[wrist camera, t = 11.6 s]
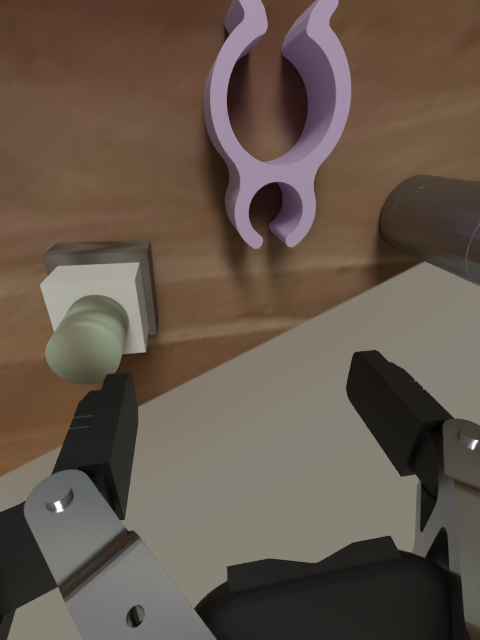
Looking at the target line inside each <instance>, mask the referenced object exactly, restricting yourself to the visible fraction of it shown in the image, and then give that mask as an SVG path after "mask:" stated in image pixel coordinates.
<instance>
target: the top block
mask: <svg viewBox="0 0 480 640" xmlns="http://www.w3.org/2000/svg"><path fill="white" fill-rule="evenodd" d="M40 286H41V290H42V293H43V296H44V300H45V303H46V306H47V309H48V313H49V316H50V319H51V323H52V326H53V329H54V332H55V331H56V329H57V327H58V326H59V324H60V323H61V321H62V319H63V318H64V316H65V315H66V313H67V312H68V310H69V308H70V307H71V305H72V304H73V303H74V302H75V301H76V300H78V299H80V298H82V297H84V296H88V295H103V296H107V297H109V298H112V299H114V300H115V301H117V302H118V303H119V304H121V305H122V306H123V308H124V309H125V310H126V312H127V314H128V318H129V328H128V332H127V336H126V340H125V344H124V348H123V352H122V354H132V353H143V352H146V347H147V339H148V331H149V326H148V319H147V312H146V305H145V298H144V290H143V283H142V276H141V269H140V262H139V263H117V264H95V265H73V266H57V267H56V268H55V269H54V270H53V272H52V273H51V274H50V275H49V276H48V277H47V278H46V279H45V280H44V281H43V282H42V283H41V284H40Z"/></svg>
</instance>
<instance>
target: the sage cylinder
mask: <svg viewBox="0 0 480 640" xmlns="http://www.w3.org/2000/svg"><path fill="white" fill-rule="evenodd" d="M128 328H129V318H128V314H127V312H126V310H125V309H124V308H123V306H122V305H121V304H119V303H118V302H117V301H115V300H114V299H112V298H109V297H107V296H103V295H88V296H84V297H82V298H80V299H78V300H76V301H75V302H74V303H73V304H72V305H71V307H70V308H69V310H68V312H67V313H66V315H65V316H64V318H63V319H62V321H61V323H60V324H59V326H58V327H57V329H56V331H55V332H54V334H53V335H52V337H51V338H50V340H49V342H48V344H47V346H46V351H45V356H46V360H47V363H48V364H49V366H50V368H51V369H52V370H53V371H54V372H55V373H56V374H57V375H58V376H60V377H62V378H63V379H65V380H67V381H70V382H73V383H78V384H95V383H99V382H102V381H104V379H105V376H106V375H107V374H112V373H115V372H116V371H117V369H118V367H119V364H120V361H121V357H122V352H123V348H124V344H125V340H126V336H127V332H128Z"/></svg>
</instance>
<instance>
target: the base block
mask: <svg viewBox="0 0 480 640" xmlns="http://www.w3.org/2000/svg"><path fill="white" fill-rule="evenodd" d="M43 259H44V262H45V266H46V269H47V273H48V276H49V275H50V274H51V273H52V272H53V270H54V269H55V268H56V267H57V266H73V265H95V264H117V263H139V262H140V269H141V276H142V283H143V290H144V298H145V305H146V312H147V319H148V326H149V331H148V335H157V327H158V309H157V300H156V291H155V282H154V273H153V264H152V255H151V246H150V241H112V242H72V243H57V244H55V245H54V246H53V247H52V248H51V249H50V250H48V251H47V252H46V253H45V254H44V255H43Z"/></svg>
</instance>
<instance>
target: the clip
mask: <svg viewBox="0 0 480 640" xmlns="http://www.w3.org/2000/svg"><path fill="white" fill-rule="evenodd" d="M337 6H338V0H316V1H315V2H314V3H313V4H312V5H311V6H310V7H309V8H308V9H307V10H306V11H305V12H304V13H303V14H302V15H301V16H300V17H299V18H298V19H297V20H296V21H295V23H294V24H293V26H292V27H291V29H290V31H289V32H288V34H287V35H286V37H285V39H284V43H283V46H282V55H283V56H284V57H285V58H286V59H288V60H289V61H290V62H291V63H292V64H293V65H294V66H295V67H296V69H297V70H298V72H299V73H300V75H301V77H302V79H303V82H304V84H305V88H306V92H307V98H308V112H307V119H306V123H305V126H304V129H303V132H302V134H301V136H300V138H299V139H298V141H297V142H296V144H295V145H294V146H293V147H292V149H291V150H289V151H288V152H287V153H286V154H285V155H283V156H282V157H280V158H278V159H275V160H272V161H268V162H261V161H259V160H257V159H255V158H254V157H252V156H251V155H250V154H248V153H247V152H246V151H245V150H244V149H243V147H242V146H241V145H240V143H239V142H238V140H237V139H236V137H235V135H234V133H233V130H232V128H231V125H230V122H229V117H228V112H227V89H228V83H229V79H230V75H231V72H232V69H233V67H234V65H235V63H236V61H237V60H239V59H240V58H241V57H243V56H245V55H246V54H248V53H249V51H250V50H251V49H252V48H253V46H254V45H255V44H256V43H257V42H258V40H259V39H260V38H261V37H262V36H263V34H264V33H265V32H266V30H267V27H268V23H267V18H266V13H265V8H264V6H263V4H262V2H261V0H233V1H232V4H231V6H230V9H229V11H228V13H227V16H226V18H225V21H224V25H225V28H226V30H227V31H228V33H229V37H228V38H227V40H226V41H225V43H224V45H223V47H222V49H221V51H220V52H219V54H218V56H217V58H216V60H215V62H214V64H213V66H212V68H211V70H210V73H209V75H208V78H207V82H206V86H205V91H204V99H203V111H204V120H205V125H206V129H207V132H208V135H209V137H210V140H211V142H212V144H213V146H214V147H215V149H216V150H217V152H218V153H219V154H220V156H221V157H222V158H223V159H224V161H225V163H226V164H227V167H228V170H229V184H228V187H227V190H226V195H225V209H226V213H227V216H228V218H229V220H230V222H231V223H232V225H233V226H234V227H235V229H236V230H237V231H238V233H239V234H240V235H241V237H242V238H243V239H244V241H245V242H246V243H247V244H248V245H250V246H251V247H253V248H254V249H258V248H260V247H261V245H262V242H263V239H262V237H261V236H260V235H259V234H258V233H257V232H256V231H255V230H254V229H253V228H252V226H251V224H250V220H249V206H250V203H251V200H252V198H253V196H254V195H255V193H256V192H257V191H258V190H259V189H260V188H261V187H263V186H264V185H266V184H269V183H272V182H276V183H277V184H278V185H279V187H280V189H281V191H282V196H283V203H282V207H281V210H280V212H279V214H278V215H277V217H276V218H275V219H274V220H273V221H271V222H270V223H269V229H270V231H271V232H272V233H273V234H274V235H276V236H277V237H278V238H279V239H280V240H281V241H282V242H284V243H285V244H286V245H287V246H288V247H294V246H295V245H296V244H298V243H299V242H300V241H301V240H302V239H303V238H304V237H305V236H306V234H307V233H308V231H309V230H310V228H311V226H312V223H313V220H314V217H315V212H316V200H315V194H314V178H315V175H316V172H317V170H318V168H319V166H320V165H321V163H322V162H323V161H324V160H325V159H326V158H327V157H328V155H329V154H330V153H331V152H332V150H333V149H334V147H335V146H336V144H337V142H338V140H339V139H340V137H341V134H342V132H343V130H344V127H345V124H346V121H347V118H348V113H349V108H350V101H351V77H350V71H349V66H348V62H347V58H346V55H345V52H344V50H343V48H342V45H341V43H340V42H339V40H338V38H337V36H336V35H335V33H334V32H333V31H332V29H331V28H330V26H329V19H330V17H331V15H332V14H333V12H334V11H335V9H336V8H337Z"/></svg>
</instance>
